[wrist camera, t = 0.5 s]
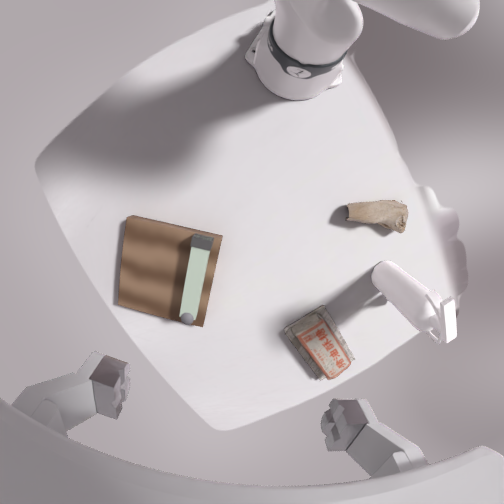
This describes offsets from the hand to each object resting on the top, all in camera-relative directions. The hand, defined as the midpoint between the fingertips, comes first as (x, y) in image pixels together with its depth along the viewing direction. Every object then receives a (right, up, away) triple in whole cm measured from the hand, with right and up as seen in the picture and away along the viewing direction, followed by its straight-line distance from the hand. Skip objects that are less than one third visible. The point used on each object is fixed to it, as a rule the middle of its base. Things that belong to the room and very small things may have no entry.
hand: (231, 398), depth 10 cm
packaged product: (+16, -15, +50) cm, 54 cm away
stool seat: (-15, +2, +43) cm, 46 cm away
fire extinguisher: (+29, 0, +46) cm, 54 cm away
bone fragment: (+25, +13, +42) cm, 51 cm away
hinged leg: (-9, +1, +41) cm, 42 cm away
